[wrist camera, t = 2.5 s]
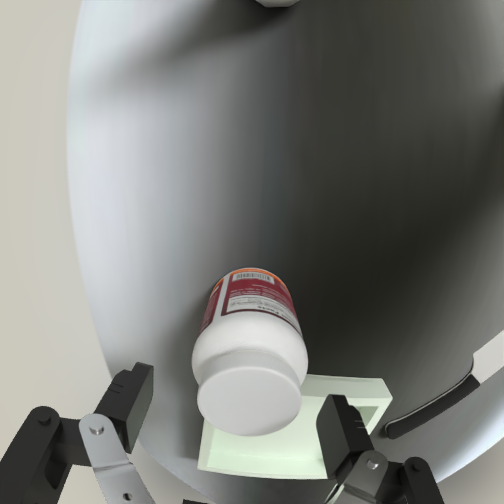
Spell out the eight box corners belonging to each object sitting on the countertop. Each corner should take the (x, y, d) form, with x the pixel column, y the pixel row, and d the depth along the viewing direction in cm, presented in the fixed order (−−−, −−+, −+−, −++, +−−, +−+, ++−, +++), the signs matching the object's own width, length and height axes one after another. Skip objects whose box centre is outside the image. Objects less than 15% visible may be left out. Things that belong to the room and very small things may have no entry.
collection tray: (382, 378, 24) (392, 398, 21) (332, 459, 28) (336, 477, 25) (214, 360, 24) (210, 382, 21) (200, 449, 27) (197, 469, 24)
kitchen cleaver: (560, 265, 21) (559, 325, 22) (552, 263, 22) (552, 322, 23) (376, 399, 25) (391, 449, 26) (371, 390, 26) (387, 441, 27)
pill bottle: (242, 350, 23) (234, 458, 13) (194, 294, 22) (150, 389, 11) (306, 311, 22) (340, 413, 12) (261, 248, 21) (267, 325, 10)
